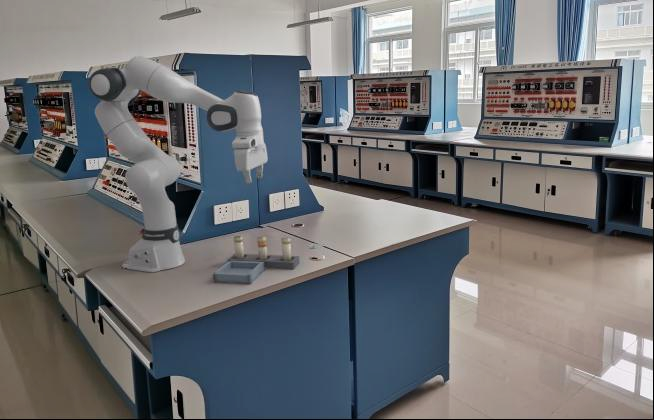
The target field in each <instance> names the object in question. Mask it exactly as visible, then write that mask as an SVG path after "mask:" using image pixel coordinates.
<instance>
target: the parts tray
mask: <svg viewBox="0 0 654 420" xmlns="http://www.w3.org/2000/svg"><path fill="white" fill-rule="evenodd" d="M265 270H266V268H265V266H264V262H252V261H230V260H229V261H228V262H225V263H224V264H223V265H221V267H219V268H218V269H217V270H215V271H214V272H213V273H212V275H213V277H212V278H213V283H221V284H240V285H251V284H253V283H254V282H255V281H256V279H257V278H259V276H261V274H263V273H264V271H265ZM265 272H266V271H265Z"/></svg>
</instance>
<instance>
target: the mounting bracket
mask: <svg viewBox="0 0 654 420" xmlns="http://www.w3.org/2000/svg"><path fill="white" fill-rule="evenodd" d="M324 246H325V244H321V243H310V244H309V245H308V248H309V249H310V250H314V249H321V248H323V247H324Z"/></svg>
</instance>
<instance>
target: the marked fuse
mask: <svg viewBox="0 0 654 420" xmlns="http://www.w3.org/2000/svg"><path fill="white" fill-rule="evenodd" d="M256 238H257V239H256V241H257V249H258V252H257V253H258V254H259V260H268V258H267V255H268V245H267V237H266V236H258V237H256Z"/></svg>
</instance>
